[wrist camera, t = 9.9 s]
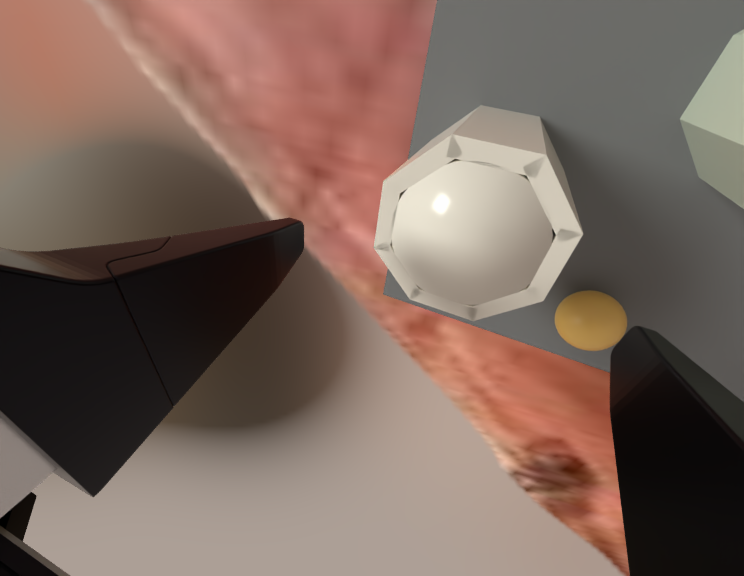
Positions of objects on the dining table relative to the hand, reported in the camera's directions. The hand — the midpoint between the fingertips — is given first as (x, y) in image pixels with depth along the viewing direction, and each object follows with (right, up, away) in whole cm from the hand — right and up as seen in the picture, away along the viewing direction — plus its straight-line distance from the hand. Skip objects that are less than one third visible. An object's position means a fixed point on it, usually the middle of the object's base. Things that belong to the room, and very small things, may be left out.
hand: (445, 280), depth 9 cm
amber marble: (+9, -2, +7) cm, 12 cm away
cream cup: (+4, +5, +7) cm, 9 cm away
